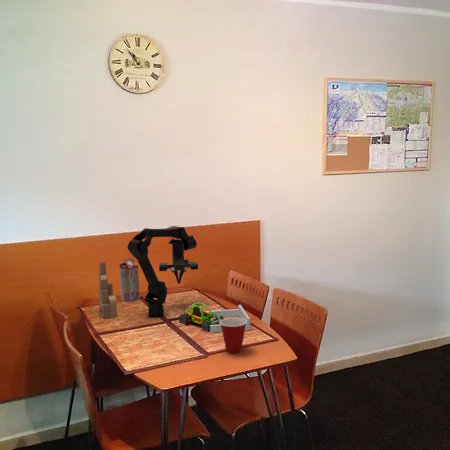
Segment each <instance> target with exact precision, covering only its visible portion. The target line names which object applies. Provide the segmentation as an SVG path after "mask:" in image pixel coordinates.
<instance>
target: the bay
mask: <svg viewBox="0 0 450 450" xmlns="http://www.w3.org/2000/svg"><path fill="white" fill-rule="evenodd" d="M205 311H206V312H209V313H211V312H212V313H214V314H215V315H218V316H222V317H223V318H233V317H238V318H243V319H246V320H247V324H246V327H245V331H251V318H250V316H249V315H248V313H247V312H246V310H245V309H244V308H243V306H242V304H238V305H237V308H234V309H218V310H210V311H211V312H210V311H209V310H205ZM212 313H211V314H212ZM214 314H213V315H214ZM213 317H214V316H213ZM209 332H210V334H215V332H217V333H223V332H222V327H221V325H219V324H214V325H210V330H209Z"/></svg>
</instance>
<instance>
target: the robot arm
mask: <svg viewBox="0 0 450 450" xmlns="http://www.w3.org/2000/svg"><path fill="white" fill-rule="evenodd" d="M153 238H171V239H170V240H169V241H168V244H169V245H171V250H172V251H171V254H172V255H171V257H172V258H171V260H172V263H171V264H168V263H167V262H160V263H159V264H158V269H159V272H167V271H168V269H169V270H170V272H171V273H173V275H174V276H175V278H176V282H177V284H181V280H182V278H183V275H184V273H187V268H190V269H191V270H192V271H194V270H199V264H198V262H197V261H189V259H185V251H190V250H194V249H196V247H197V245H198V243H197V240H196V239H195V238H194V235H192V234H191V235H188V233H187V231H186V229H185V227H183V226H177V225H172V226H168V227H167V228H147V227H145V228H143V229H142V230H141V232H139V233H137V234H136V235H135V236H134V237H132V239H131V240H130V241H129V242H128V245H127V247H126V248H127V250H128V252H129V253H130V255H131V256H132V257H133V258H135V259H136V260H137V263H138V266H139V267H140V269H141V271H142V273H143V275H144V278H145V280H146V282H147V293H146V295H145V296H144V298H143V299H144V302H145V303H148V304H147V305H148V312H147V313H148V314H147V315H149V316H148V318H149V317H153V318H163V315H164V314H165V313H164V304H165V303H166V300H167V295H168V288H167V286H166V283H165V281H161V280H159V279H158V276H157V273H156V272H155V270H154V267H153V265H152V263H151V261H150V259H149V247H150V246H151V243H152V239H153ZM178 272H179V273H178Z"/></svg>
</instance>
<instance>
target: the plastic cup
mask: <svg viewBox="0 0 450 450" xmlns="http://www.w3.org/2000/svg"><path fill="white" fill-rule="evenodd" d="M219 323H220V325H221V327H222V332H221V333H222V337H223V341H224V347H225V351H226V352H227V353H229V354H240V353H241V351H242V348H243V342H244V337H245V331H246V330H245V327H246V324H247V320H246V319H243V318H240V317H225V318H224V319H223V320H221V321H220V322H219Z"/></svg>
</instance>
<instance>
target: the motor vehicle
mask: <svg viewBox="0 0 450 450" xmlns="http://www.w3.org/2000/svg"><path fill="white" fill-rule="evenodd" d="M178 305H183V306H184V309H183V311H184V313H181V314H180V315H179V316H178V322H179V324H180V323H182V324H186V325H188V324H189V321H191V322H193V323H196V324H199V325H201V326H200V327H201V330H202V332H205V331H207V332H210V325H219V324H220V323H219V322H220V321H221V320H223V319H225V317H222V316H218V315H215V314H214V313H212V312H211V311H212V310H211V309H210V308H209V307H208V306H207V305H206V304H204V303H201V302H198V301H197V302H194V303H193V304H191V305H189V306H188V307H187V308H185V302H184V301H183V300H180V301H179V303H178ZM203 307H205V308H206V309H207V310H208V311H210V312H211V313H212V314H211V313H209V312H206V311H207V310H203V309H202V308H203ZM213 314H214V315H213ZM213 316H214V317H216V318H214V317H213ZM182 324H181V325H182Z"/></svg>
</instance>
